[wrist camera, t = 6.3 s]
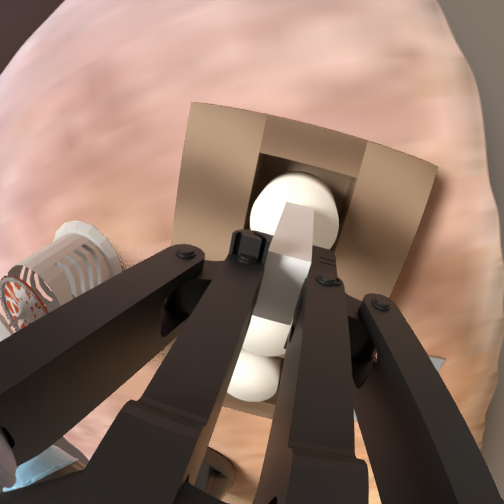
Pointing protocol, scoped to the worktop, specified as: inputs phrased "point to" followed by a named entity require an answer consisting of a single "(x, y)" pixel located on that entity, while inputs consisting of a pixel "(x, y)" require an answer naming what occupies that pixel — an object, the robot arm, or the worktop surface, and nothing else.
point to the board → (307, 160)
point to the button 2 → (266, 337)
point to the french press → (57, 274)
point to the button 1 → (255, 377)
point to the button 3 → (302, 193)
